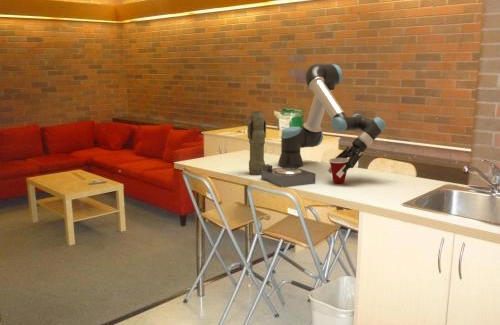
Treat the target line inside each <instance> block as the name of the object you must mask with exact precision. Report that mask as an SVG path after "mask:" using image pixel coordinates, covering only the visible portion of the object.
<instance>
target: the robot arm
mask: <svg viewBox="0 0 500 325" xmlns="http://www.w3.org/2000/svg"><path fill="white" fill-rule="evenodd" d="M304 79H305V83H306V86H307V88H308V89H309V90H310V91H312V92H313V94H314V97H313V100H312V103H311V107H310V110H309V113H308V115H307V116H308V117H307V120H306V121H305V122H304V123H303V126H302V128H301V127H300V126H289V127H285V128H283V129H282V131H281V135H280V138H281V143H280V144H281V146H280V147H281V148H280V149H281V150H280V156H279V159H278V162H277V163H278V164H277V166H279V167H280V168H283V167H296V168H300V167H303V166H304V162H303V159H302V154H301V149H303V148H314V147H318V146H319V145H321V143H322V142H323V140H324V133H323V130H322V127H321V124H322V121H323V118H324V116H325V115H324V114H325V111H326V112H327V114H328V115H329V117H330V119H331V128H332V130H333V131H335V132H337V133H338V132H342V133H343V132H350V131H351V132H352V131H354V132H356V131H361V132H360V133H359V134H358V136H357V137H356V138H355V139H354V140H353V141H352V143H351V147H349V146H347V147H346V148H345V149H344V150H342V152H340V153H339V154H338V155H337V156H335V158H348V159H349V160H348V162H347V163H346V164H345V165H344V166H343V167H342V168H341V169H340V171H339V172H338V173H337V174H336V175H337V176H338V177H339V178H341V176H342V175H343V174H344V173H345V172H346V171H348V170H349V169H353V168H354V167H355V166H356V165H357V163H358V161H359V160H360V158H361V157H362V156H363V153H364V152H365V151H366V150H367V148H368V147H369V146H370V145H371V144H372V143H373V142H374V141H375V140H376V139H377V138H378V136H379V135H380V134H382V133H383V131H384V130H385V129H386V128H387V124H386V122H385V120H384V119H382V118H380V117H379V116H376V117H374V118H373V119H371V118H369V117H367V116H364V115H363V114H359V113H355V114H353V115H351V116H347V114H346V113H345V111H344V109H343V108H342V106H340V104H339V102H338V101H337V99H336V98H335V96H334V95H333V93H332V92H333V91H335V88H336V86H337V85H339V84H341V82H342V81H343V72H342V68H341V67H340V66H339V65H337V64H335V63H334V64H332V63H329V64H328V63H314V64H312V65H310V66H309V67H307V69H306V71H305V74H304ZM326 171H327V172H328V173H329V174H331V175H332V170H331V165H330V166H329V167H328V169H327V170H326Z"/></svg>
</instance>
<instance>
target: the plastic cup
mask: <svg viewBox="0 0 500 325" xmlns="http://www.w3.org/2000/svg"><path fill="white" fill-rule="evenodd" d="M348 160H349V157H348V158H336V157H334V158H333V157H332V158H330V159H329V160H328V162H329V164H330V166H331V170H332V173H331V176H332V181H333V183H335V184H344V183H345V181H346V177H347V171H348V170H347V171H346V172H345V173H344V174H343V175H342V176H341V178H339V177H338V176H337V175H336V174H337V173H338V172H339V171H340V169H341V168H342V167H343V166H344V165H345V164H346V163H347V162H348Z"/></svg>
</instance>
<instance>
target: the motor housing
mask: <svg viewBox="0 0 500 325" xmlns="http://www.w3.org/2000/svg"><path fill="white" fill-rule="evenodd" d="M316 175H317V174H316V173H314V172H311V171H308V170H305V169H302V168H300V167H276V168H273V165H272V164H268V163H265V164H264V165H263V169H262V170H261V175H260V177H261V180H264V181H266V182H268V183H271V184H273V185H276V186H278V187H281V186H283V187H282V188H288V187H297V186H303V185H312V184H316V177H317V176H316Z"/></svg>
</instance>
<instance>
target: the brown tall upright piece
mask: <svg viewBox="0 0 500 325" xmlns="http://www.w3.org/2000/svg"><path fill="white" fill-rule="evenodd" d="M249 119H250V120H248V122H247V139H248V143H249V161H248V171H249V172H248V174H249V175H252V176H261V170H262V169H263V165H264V164H266V163H265V162H266V161H265V143H266V141H265V140H266V138H267V121H266V120H265V116H264V112H262V111H258V110H257V111H256V110H255V111H253V112H251V114H250V118H249Z"/></svg>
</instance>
